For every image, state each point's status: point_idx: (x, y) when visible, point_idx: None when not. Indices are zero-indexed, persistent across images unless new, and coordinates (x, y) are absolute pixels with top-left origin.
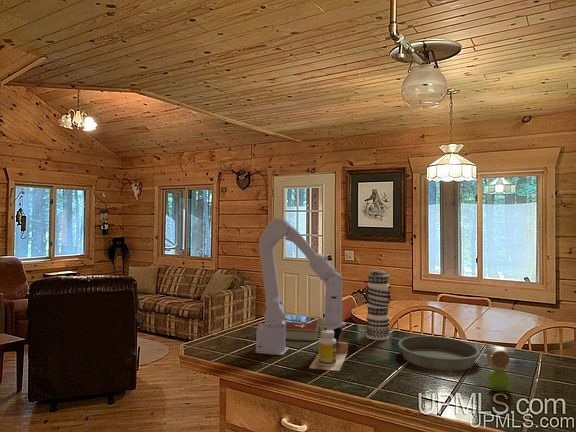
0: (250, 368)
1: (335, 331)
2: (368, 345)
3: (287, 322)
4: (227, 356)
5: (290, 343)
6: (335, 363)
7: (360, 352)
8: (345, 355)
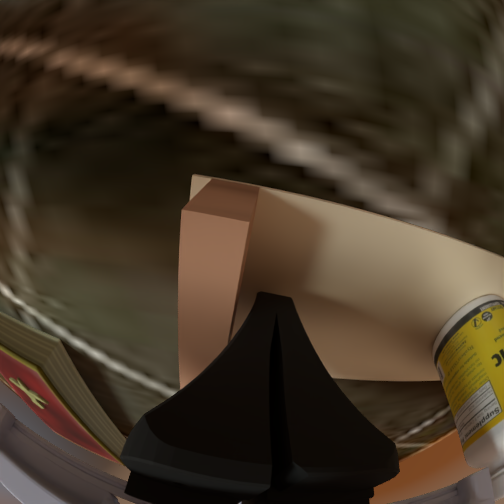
0: (405, 455)
1: (359, 489)
2: (31, 42)
3: (26, 403)
4: None
5: None
6: (501, 298)
7: (197, 57)
8: (343, 210)
